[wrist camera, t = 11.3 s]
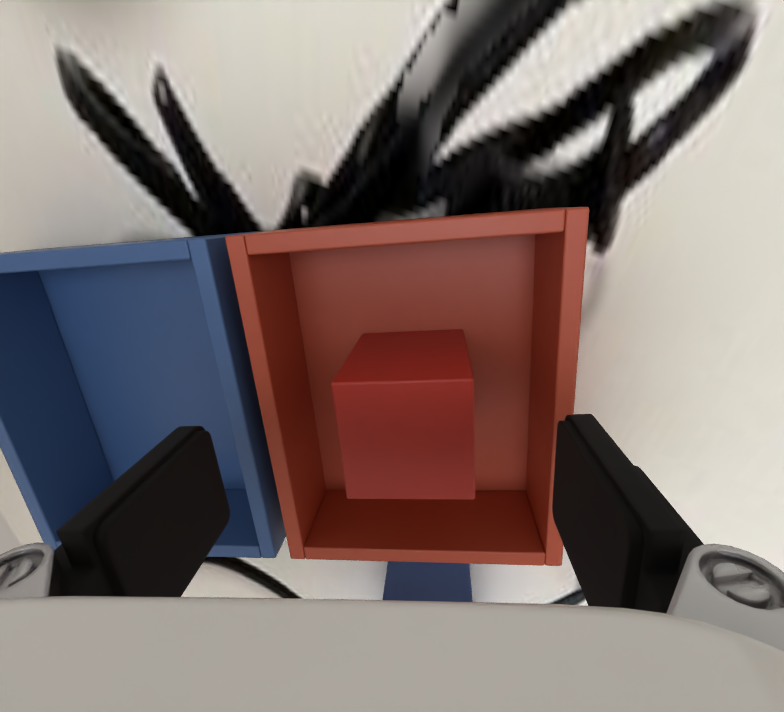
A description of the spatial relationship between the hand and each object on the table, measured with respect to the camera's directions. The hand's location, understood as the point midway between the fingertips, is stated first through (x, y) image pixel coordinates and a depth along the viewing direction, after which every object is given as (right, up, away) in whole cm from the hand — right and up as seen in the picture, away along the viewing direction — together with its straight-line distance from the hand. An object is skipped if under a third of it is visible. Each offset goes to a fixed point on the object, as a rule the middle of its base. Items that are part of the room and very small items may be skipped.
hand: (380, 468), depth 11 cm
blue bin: (-9, +2, +8) cm, 12 cm away
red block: (+1, +2, +6) cm, 6 cm away
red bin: (+1, +2, +6) cm, 7 cm away
